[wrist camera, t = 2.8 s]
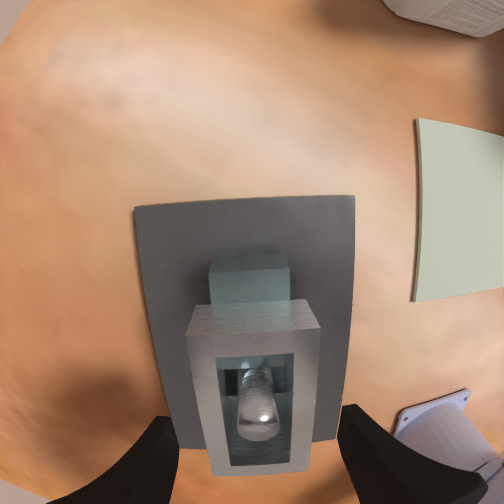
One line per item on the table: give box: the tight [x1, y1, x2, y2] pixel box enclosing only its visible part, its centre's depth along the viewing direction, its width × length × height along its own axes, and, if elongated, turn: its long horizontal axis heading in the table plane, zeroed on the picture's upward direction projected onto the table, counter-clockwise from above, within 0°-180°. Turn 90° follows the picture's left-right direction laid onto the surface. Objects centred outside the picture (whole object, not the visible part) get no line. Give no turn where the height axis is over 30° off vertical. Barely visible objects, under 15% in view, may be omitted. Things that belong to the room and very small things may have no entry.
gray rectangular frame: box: [185, 299, 321, 476], centre depth 13 cm, size 9×5×3 cm, turn 3°
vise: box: [134, 195, 355, 449], centre depth 15 cm, size 18×12×8 cm, turn 3°
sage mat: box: [413, 118, 504, 302], centre depth 17 cm, size 12×12×1 cm
